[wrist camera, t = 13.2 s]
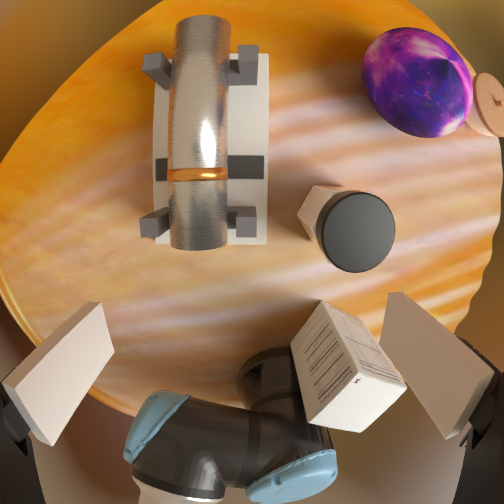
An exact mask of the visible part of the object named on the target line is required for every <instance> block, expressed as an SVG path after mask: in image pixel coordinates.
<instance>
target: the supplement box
mask: <svg viewBox="0 0 504 504" xmlns="http://www.w3.org/2000/svg"><path fill="white" fill-rule="evenodd" d="M290 346H291V350H292V354H293V359H294V363H295V367H296V372H297V376H298V381H299V385H300V389H301V394H302V399H303V403H304V408H305V412H306V417H307V422H308V423H311V424H316V425H320V426H325V427H331V428H335V429H342V430H347V431H354V432H362V431H363V430H364V429H366V428H367V427H368V426H369V425H370V424H371V423H373V421H375V420H376V419H377V418H378V417H379V416H380V415H381V414H382V413H383V412H384V411H385V410H386V409H387V408H388V407H389V406H391V405H392V404H393V403H394V402H395V401H396V400H397V399H398V398H399V397H400V396H401V394H402V393H403V392H404V391H405V390H406V389H407V387H406V385H405V384H404V382H403V380H402V379H401V377H400V376H399V374H398V373H397V371H396V370H395V368H394V367H393V365H392V364H391V362H390V361H389V359H388V358H387V356H386V355H385V354H384V352H383V350H382V348H381V347H380V345H379V344H378V342H377V341H376V339H375V338H374V336H373V335H372V333H371V332H370V331H369V329H368V328H367V326H366V325H365V323H364V322H363V321H362V320H360V319H358V318H356V317H354V316H352V315H350V314H348V313H346V312H344V311H342V310H340V309H338V308H336V307H334V306H332V305H330V304H328V303H326V302H324V301H321V302H320V303H319V304H318V306H317V307H316V309H315V310H314V311H313V313H312V314H311V316H310V317H309V318H308V320H307V321H306V323H305V324H304V325H303V327H302V328H301V329H300V331H299V332H298V333H297V335H296V336H295V337H294V339H293V340H292V341H291V343H290Z"/></svg>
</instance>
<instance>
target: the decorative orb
mask: <svg viewBox="0 0 504 504" xmlns="http://www.w3.org/2000/svg"><path fill="white" fill-rule="evenodd" d="M362 79H363V84H364V88H365V91H366V93H367V96H368V98H369V100H370V102H371V103H372V105H373V106H374V108H375V109H376V111H377V112H378V113H379V114H380V115H381V116H382V117H383V118H384V119H385V120H386V121H387V122H388V123H390V124H391V125H392V126H394V127H395V128H397V129H398V130H400V131H402V132H405V133H407V134H410V135H413V136H417V137H423V138H435V137H441V136H444V135H447V134H449V133H451V132H453V131H454V130H456V129H457V128H458V127H460V126H461V125H462V123H463V122H464V121H465V120H466V118H467V116H468V114H469V112H470V109H471V106H472V101H473V86H472V81H471V77H470V74H469V71H468V69H467V67H466V65H465V63H464V61H463V60H462V58H461V57H460V55H459V54H458V53H457V52H456V51H455V49H454V48H453V47H452V46H451V45H449V44H448V43H447V42H446V41H444V40H443V39H442V38H440V37H438V36H437V35H435V34H433V33H430V32H428V31H425V30H422V29H418V28H410V27H403V28H396V29H392V30H389V31H387V32H384V33H383V34H381V35H380V36H378V37H377V38H376V39H375V40H374V41H373V42H372V43H371V44H370V46H369V47H368V49H367V51H366V53H365V56H364V59H363V64H362Z"/></svg>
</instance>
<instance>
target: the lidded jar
mask: <svg viewBox="0 0 504 504" xmlns="http://www.w3.org/2000/svg"><path fill="white" fill-rule="evenodd" d="M471 81H472V86H473V101H472V106H471V109H470V112H469V114H468V116H467V118H466V120H465V122H466V123H467V124H468V125H469V126H470V127H471V128H472V129H473V130H475V131H476V132H478V133H480V134H483V135H487V136H498V137H504V89H503V87H502V86H501V84H500V83H499V82H498V81H497V80H496V79H495V78H494V77H493V76H492V75H490V74H488V73H479V74H477V75H475V76H472V77H471Z"/></svg>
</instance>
